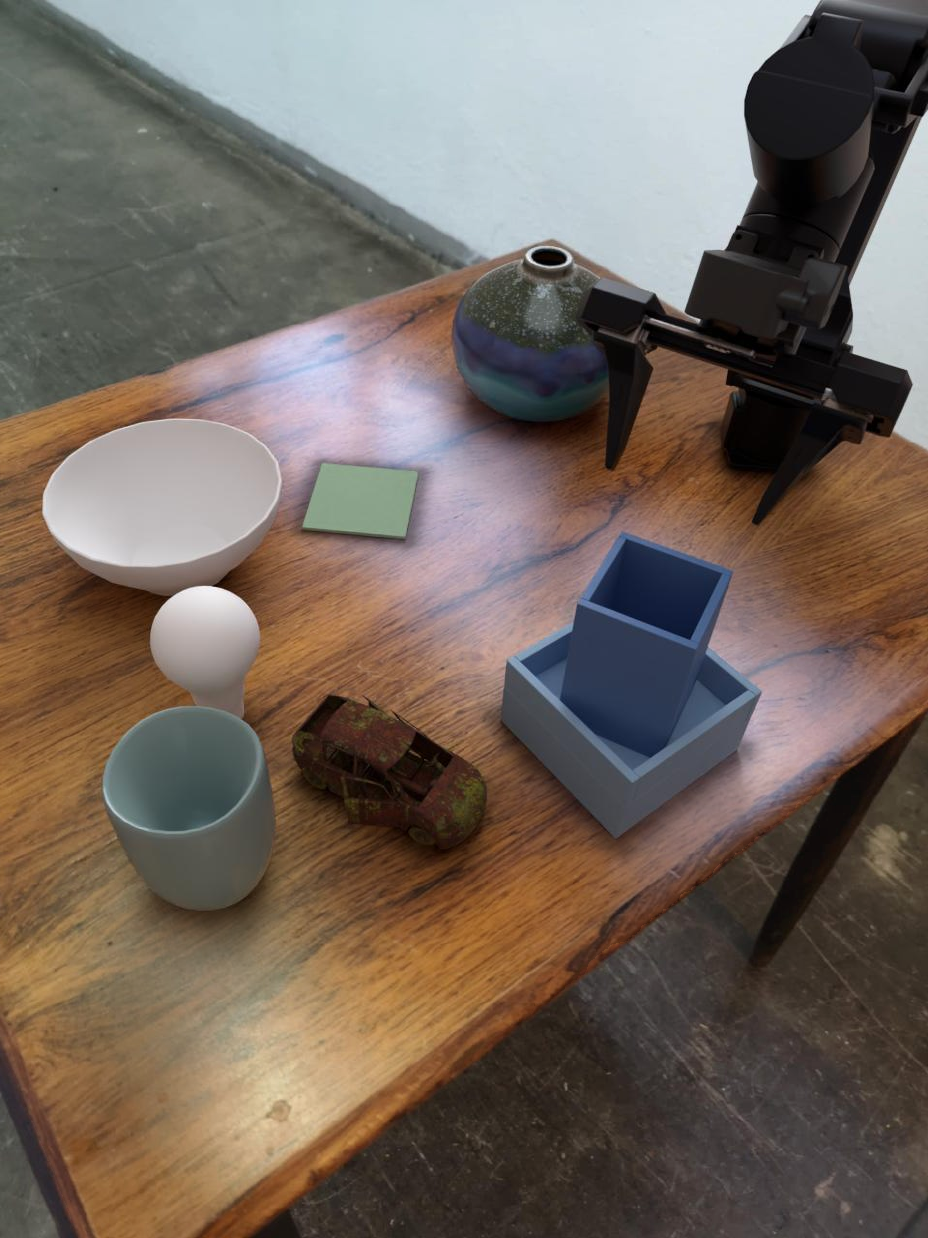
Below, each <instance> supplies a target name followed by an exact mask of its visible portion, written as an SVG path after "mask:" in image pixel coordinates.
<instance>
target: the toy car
mask: <svg viewBox="0 0 928 1238" xmlns="http://www.w3.org/2000/svg"><path fill="white" fill-rule="evenodd" d="M362 697H363V698H364V699H365V700H366V701H367V702H368V705H367V704H365V703H361V702H359V701H357V700H354V699H351V698H349V697H346V696H345V697H344V696H341V695H337V694H336V695H335V694H328V695H327V696H326V697H325V698H324V699H322V701H320V703H318V705H317V706H316V707H315V709H314V710H313V711H312V712H311V713H310V714H309V715H308V716H307V718H306V719H305V720H304V721H303V723H301V725H300V726H299V727H298V728H297V729H296V730H295V732H294V733H293V735H292V738H291V743H292V748H291V751H292V755H293V758H294V761H295V763H296V765H297V767H298V769H299V770H300V771H302V770H303V769H304V768H305V769H304V770H303V771H302V774H303V777H304V778H305V780H306V781H307V782H308V783H309V784H310V785H311V786H313V787H315V788H316V789H319V790H325V789H327V788H328V790H329V792H332V793H334V794H335V795H338V796H341V797H342V798H343V799H344V800H343V804H344V807H345V810H346V817H347V824H348V825H354V826H373V827H388V828H401V829H402V830H403V831H407V830H408V835H409V836H410V838H411V839H412V840H413V841H415V842H417V843H418V844H421V845H425V846H434V845H435V844H436V845H437V847H438V848H439V849H441V850H447V849H450V848H454V847H456V846H457V845H458V846H459V844H461V843H462V842H463V841H464V840H466V839H467V838H468V836H470V834H471V833H472V832H473V831H474V829H475V828H476V826H477V825H478V823H479V821H480V820H481V818H482V817H483V815H484V813H485V810H486V807H487V806H486V805H487V801H488V787H487V785H486V782H485V779H484V778H483V776H482V773H481V772H480V770H479V768H478V767H477V766H475V765H473V764H472V763H470V761H467V760H466V759H465V758H463V757H461V756H460V755H458V754H457V753H455V752H453V751H451V750H450V749H448V748H446V747H444V746H442V745H440V744H438V743H437V742H436V741H434V740H432V739H431V738H430V737H429V736H428V735H427V734H426V733H424V732H423V731H421V729H419V728H418V727H416V726H415V725H414V724H412V723H411V722H410V721H408V720H407V719H405V718H404V717H403V716H401V715H400V714H398V713H397V712H395V711H394V710H393V709H390V710H389V711H390V712H391V713H392V714H393V715H394V717H396V718H394V717H393V716H391V715H389V714H388V713H387V712H385V710H383V709H382V708H381V707H380V706H378V705H377V704H376V703H375V702H373V701H372V700H371V699H369V698H368V697H367V696H365V695H362ZM410 751H412V752H413V753H412V752H410ZM414 753H415V754H414ZM416 754H417V755H416Z"/></svg>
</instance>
